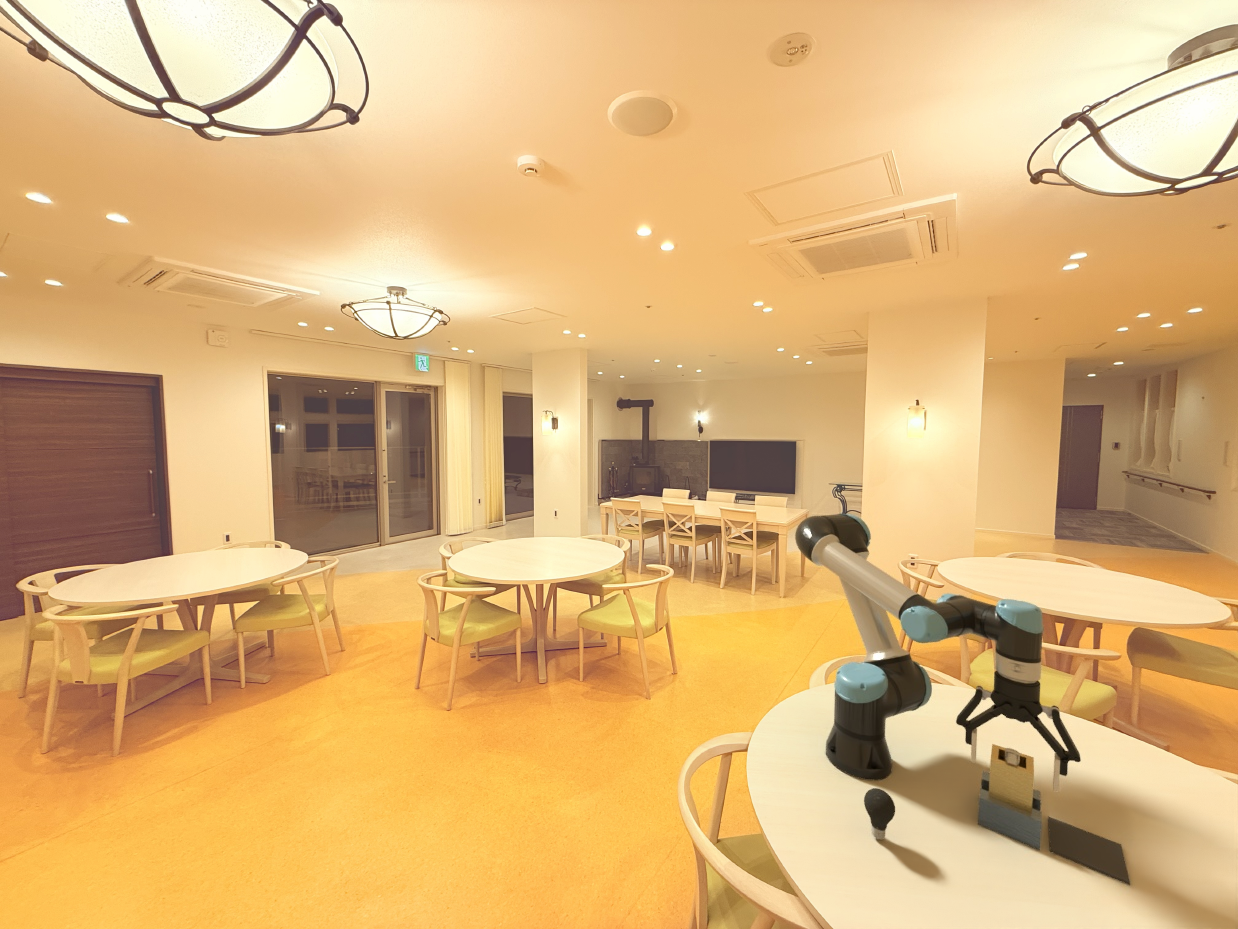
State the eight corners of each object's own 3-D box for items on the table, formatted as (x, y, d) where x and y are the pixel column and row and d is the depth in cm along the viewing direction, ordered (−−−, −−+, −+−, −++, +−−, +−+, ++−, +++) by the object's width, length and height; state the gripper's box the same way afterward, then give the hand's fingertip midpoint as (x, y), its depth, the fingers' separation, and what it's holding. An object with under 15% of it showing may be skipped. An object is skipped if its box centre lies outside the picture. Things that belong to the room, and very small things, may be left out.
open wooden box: (988, 795, 103) (990, 759, 102) (990, 778, 108) (992, 743, 107) (1031, 812, 98) (1033, 774, 98) (1031, 793, 103) (1033, 757, 103)
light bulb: (893, 854, 95) (895, 805, 94) (861, 841, 98) (863, 794, 97) (894, 834, 99) (896, 788, 99) (864, 823, 102) (865, 778, 102)
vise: (977, 824, 102) (981, 754, 102) (983, 779, 116) (986, 717, 115) (1040, 850, 96) (1044, 776, 95) (1038, 799, 110) (1042, 734, 109)
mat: (1049, 851, 96) (1050, 849, 96) (1048, 819, 104) (1048, 816, 104) (1129, 885, 89) (1130, 882, 89) (1120, 847, 97) (1121, 844, 97)
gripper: (943, 663, 107) (940, 756, 108) (1102, 703, 91) (1097, 812, 92) (948, 652, 112) (945, 741, 113) (1097, 688, 96) (1092, 790, 97)
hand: (1012, 773), depth 102 cm, fingers open, 13 cm apart
